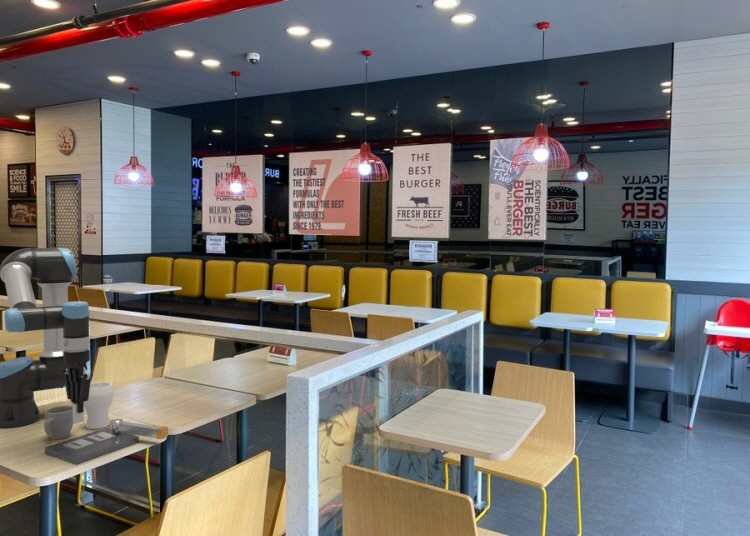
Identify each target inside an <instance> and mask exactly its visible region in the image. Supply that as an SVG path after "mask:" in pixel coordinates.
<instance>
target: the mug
mask: <svg viewBox="0 0 750 536" xmlns="http://www.w3.org/2000/svg"><path fill="white" fill-rule="evenodd" d="M44 418H45V421H44V426H43V429H44V432H45V435H46V436H50V437H51V440H62V439H66V438H69V436H70V434H71V430H72V429H73V425H74V423H73V410H72V405H59V406H58V405H57V406H52V407H49V408H47V409H46V410H45V412H44Z"/></svg>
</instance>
